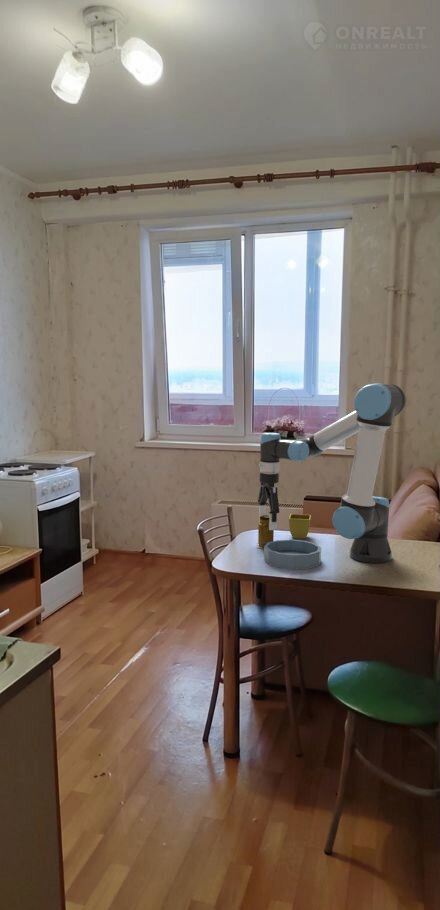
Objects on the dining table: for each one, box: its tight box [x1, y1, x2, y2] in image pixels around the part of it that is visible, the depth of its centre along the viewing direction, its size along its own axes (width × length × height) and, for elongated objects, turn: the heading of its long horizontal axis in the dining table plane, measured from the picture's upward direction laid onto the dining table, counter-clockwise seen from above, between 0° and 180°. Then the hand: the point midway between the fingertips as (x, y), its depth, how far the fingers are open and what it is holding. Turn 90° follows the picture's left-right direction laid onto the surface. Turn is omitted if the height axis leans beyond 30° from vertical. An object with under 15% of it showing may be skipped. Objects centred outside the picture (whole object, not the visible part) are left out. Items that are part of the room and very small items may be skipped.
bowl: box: [263, 539, 322, 570], centre depth 212 cm, size 20×20×5 cm
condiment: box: [256, 514, 275, 549], centre depth 230 cm, size 7×8×12 cm
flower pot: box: [288, 513, 312, 540], centre depth 244 cm, size 9×9×9 cm
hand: (267, 525), depth 230 cm, fingers open, 13 cm apart
